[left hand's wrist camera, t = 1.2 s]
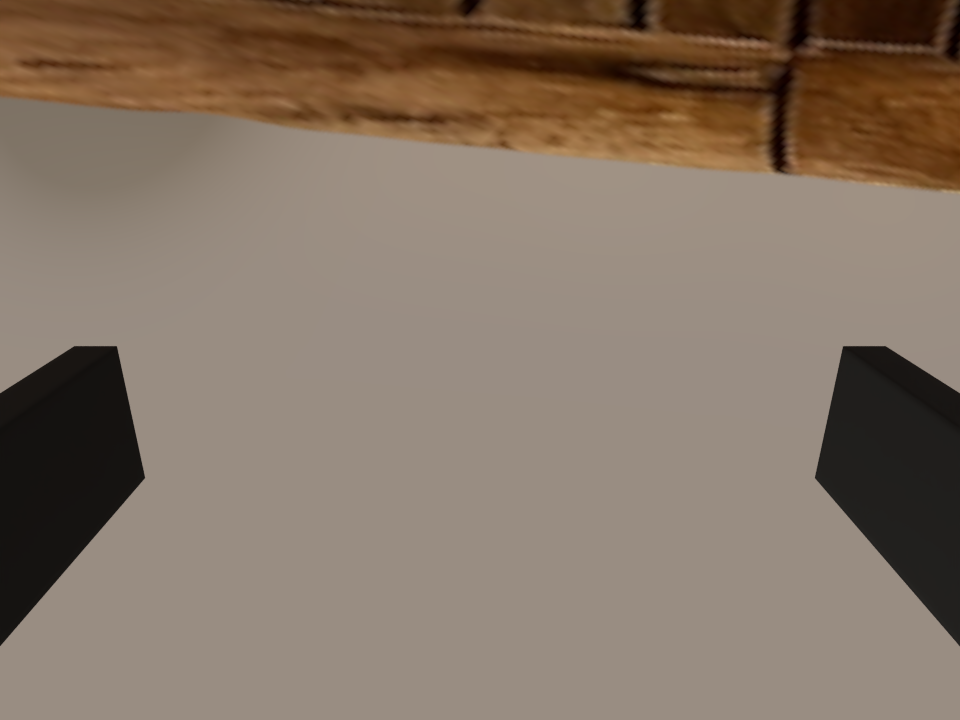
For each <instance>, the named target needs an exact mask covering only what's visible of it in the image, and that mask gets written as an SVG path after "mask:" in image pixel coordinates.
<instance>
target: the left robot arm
mask: <svg viewBox="0 0 960 720" xmlns="http://www.w3.org/2000/svg"><path fill="white" fill-rule="evenodd" d="M144 479H145V476H144V471H143V466H142V462H141V457H140V452H139V447H138V443H137V438H136V433H135V429H134V424H133V419H132V415H131V410H130V405H129V401H128V396H127V391H126V387H125V382H124V378H123V373H122V368H121V364H120V359H119V354H118V349H117V346H74V347H73V348H71V349H69V350H68V351H66V352H65V353H63V354H62V355H60V356H58V357H57V358H55V359H54V360H52V361H50V362H49V363H47V364H46V365H44V366H43V367H41V368H39V369H38V370H36V371H35V372H33V373H32V374H30V375H28V376H27V377H25V378H24V379H22V380H20V381H19V382H17V383H16V384H14V385H13V386H11V387H9V388H8V389H6V390H5V391H3V392H2V393H0V646H1V644H2V643H3V642H4V641H5V640H6V639H7V638H8V636H9V635H10V634H11V633H12V632H13V631H14V629H15V628H16V627H17V626H18V625H19V624H20V622H21V621H22V620H23V619H24V618H25V617H26V615H27V614H28V613H29V612H30V611H31V610H32V609H33V607H34V606H35V605H36V604H37V603H38V602H39V600H40V599H41V598H42V597H43V596H44V595H45V593H46V592H47V591H48V590H49V589H50V588H51V587H52V585H53V584H54V583H55V582H56V581H57V580H58V578H59V577H60V576H61V575H62V574H63V573H64V571H65V570H66V569H67V568H68V567H69V566H70V564H71V563H72V562H73V561H74V560H75V559H76V557H77V556H78V555H79V554H80V553H81V552H82V550H83V549H84V548H85V547H86V546H87V545H88V544H89V542H90V541H91V540H92V539H93V538H94V537H95V535H96V534H97V533H98V532H99V531H100V530H101V528H102V527H103V526H104V525H105V524H106V523H107V522H108V520H109V519H110V518H111V517H112V516H113V515H114V513H115V512H116V511H117V510H118V509H119V508H120V506H121V505H122V504H123V503H124V502H125V501H126V499H127V498H128V497H129V496H130V495H131V494H132V493H133V491H134V490H135V489H136V488H137V487H138V486H139V484H140V483H141V482H142V481H143V480H144ZM815 479H816V480H817V481H818V482H819V483H820V484H821V486H822V487H823V488H824V489H825V490H826V491H827V493H828V494H829V495H830V496H831V497H832V498H833V499H834V501H835V502H836V503H837V504H838V505H839V506H840V508H841V509H842V510H843V511H844V512H845V513H846V515H847V516H848V517H849V518H850V519H851V520H852V522H853V523H854V524H855V525H856V526H857V527H858V528H859V530H860V531H861V532H862V533H863V534H864V535H865V537H866V538H867V539H868V540H869V541H870V542H871V544H872V545H873V546H874V547H875V548H876V549H877V551H878V552H879V553H880V554H881V555H882V556H883V557H884V559H885V560H886V561H887V562H888V563H889V564H890V566H891V567H892V568H893V569H894V570H895V571H896V573H897V574H898V575H899V576H900V577H901V578H902V580H903V581H904V582H905V583H906V584H907V585H908V587H909V588H910V589H911V590H912V591H913V592H914V593H915V595H916V596H917V597H918V598H919V599H920V600H921V601H922V603H923V604H924V605H925V606H926V607H927V609H928V610H929V611H930V612H931V613H932V614H933V616H934V617H935V618H936V619H937V620H938V621H939V622H940V624H941V625H942V626H943V627H944V628H945V629H946V631H947V632H948V633H949V634H950V635H951V636H952V638H953V639H954V640H955V641H956V642H957V643H958V645H959V646H960V393H958V392H957V391H955V390H954V389H952V388H951V387H949V386H947V385H946V384H944V383H943V382H941V381H940V380H938V379H936V378H935V377H933V376H932V375H930V374H928V373H927V372H925V371H924V370H922V369H921V368H919V367H917V366H916V365H914V364H913V363H911V362H910V361H908V360H906V359H905V358H903V357H902V356H900V355H898V354H897V353H895V352H894V351H892V350H891V349H889V348H887V347H886V346H844V347H843V349H842V354H841V359H840V363H839V368H838V373H837V377H836V382H835V387H834V392H833V396H832V401H831V406H830V410H829V415H828V420H827V424H826V429H825V433H824V438H823V443H822V448H821V452H820V457H819V462H818V466H817V471H816V475H815Z"/></svg>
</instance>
